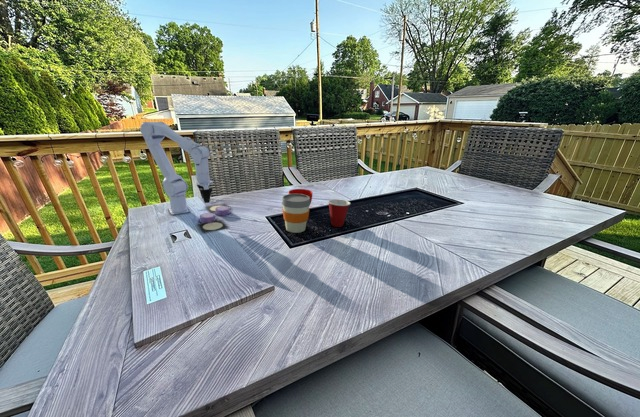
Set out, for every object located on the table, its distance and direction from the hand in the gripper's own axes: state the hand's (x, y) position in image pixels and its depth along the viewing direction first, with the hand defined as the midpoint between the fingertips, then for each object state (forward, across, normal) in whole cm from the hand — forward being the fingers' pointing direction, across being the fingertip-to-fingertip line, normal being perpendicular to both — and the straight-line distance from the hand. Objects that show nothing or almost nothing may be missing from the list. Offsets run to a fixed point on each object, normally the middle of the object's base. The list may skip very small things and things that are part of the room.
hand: (205, 200), depth 127 cm
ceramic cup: (+9, -11, -45) cm, 47 cm away
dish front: (+8, -6, +1) cm, 10 cm away
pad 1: (+8, +9, -7) cm, 14 cm away
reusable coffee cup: (+9, -32, -33) cm, 47 cm away
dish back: (+8, +1, -8) cm, 11 cm away
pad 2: (+8, -14, 0) cm, 17 cm away
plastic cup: (+9, -36, -54) cm, 65 cm away
